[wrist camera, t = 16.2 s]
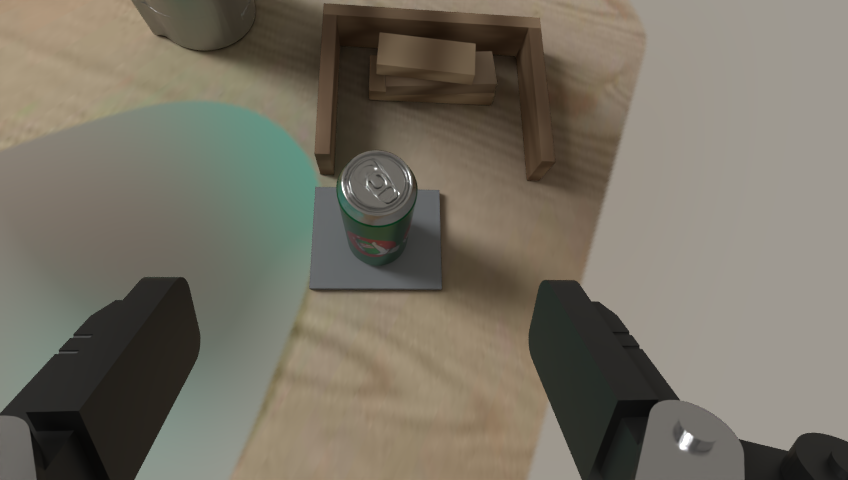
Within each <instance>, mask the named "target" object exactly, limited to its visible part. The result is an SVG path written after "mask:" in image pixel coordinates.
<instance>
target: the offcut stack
mask: <svg viewBox="0 0 848 480" xmlns="http://www.w3.org/2000/svg"><path fill="white" fill-rule="evenodd" d="M475 49H476V44H474V43H465V42H457V41H448V40H440V39H432V38H423V37H415V36H407V35H398V34H390V33H381V32H380V35H379V44H378V54H377V55H370V70H369V100H388V101H410V102H431V103H453V104H474V105H491V104H492V102H493V100H494V97H495V95H494V91H495V88H496V86H497V78H496V72H495V66H494V60H493V54H492V51H482V52H475Z"/></svg>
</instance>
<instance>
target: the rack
mask: <svg viewBox="0 0 848 480" xmlns="http://www.w3.org/2000/svg"><path fill="white" fill-rule="evenodd" d="M380 32H381V33H390V34H398V35H407V36H415V37H423V38H432V39H440V40H448V41H457V42H465V43H474V44H476V49H475V52H482V51H492V54H493V55H504V56H516V62H517V73H518V84H519V96H520V107H521V118H522V130H523V141H524V153H525V164H526V175H527V180H533V181H539V180H540V179H541V178H542V177H543V176H544V174H545V173H546V172H547V171H548V170H549V169H550V167H551V166H552V165H553V164H554V163H555V153H554V143H553V134H552V125H551V116H550V107H549V98H548V89H547V79H546V70H545V61H544V52H543V43H542V34H541V25H540V18H533V17H518V16H503V15H488V14H474V13H459V12H444V11H429V10H414V9H400V8H385V7H370V6H355V5H340V4H325V3H324V9H323V25H322V41H321V57H320V73H319V89H318V105H317V121H316V137H315V157H316V160H317V164H318V167H319V170H320V174H326V175H334V167H335V146H336V124H337V103H338V82H339V61H340V46H349V47H367V48H378V44H379V35H380Z"/></svg>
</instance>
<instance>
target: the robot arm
mask: <svg viewBox="0 0 848 480" xmlns="http://www.w3.org/2000/svg"><path fill="white" fill-rule="evenodd" d="M131 1H132V2H133V4H134V5H135V7H136V8H137V10H138V11H139V13H140V14H141V16H142V17H143V19H144V20H145V22H146V23H147V25H148V26H149V28H150V29H151V31H152V32H153V33H154V34H155V35H164V36H166V37H168V38H169V39H171V40H172V41H174V42H175V43H176V44H179V45H181V46H183V47H186V48H190V49H194V50H205V51H206V50H216V49H220V48H223V47H227V46H229V45H231V44H233V43H235V42H237V41H238V40H239V39H241V38H242V37H243V36H244V35H245V34H246V33H247V32H248V31H249V30H250V28H251V26H252V24H253V22H254V18H255V4H254V0H131ZM199 349H200V331H199V327H198V322H197V318H196V314H195V310H194V305H193V301H192V297H191V293H190V288H189V285H188V282H187V281H186V279H185V278H183V277H145V278H143V279H141V280H140V281H139V282H138V283H137V284H136V286H135V287H134V288H133V289H132V290H131V291H130V293H129V294H128V295H127V296H126V297H125V298H124V299H123V300H115V301H114V302H112V303H111V304H109V305H107V306H106V307H104V308H103V309H101V310H99V311H98V312H96V313H95V314H93V315H91V316H90V317H89V318H88V319H87V320H86V321H85V323H84V324H83V325H82V326H81V327H80V328H79V329H78V330H77V331H76V332H75V333H74V337H73V338H70V339H69V340H68V341H67V342H66V343H65V344H64V345H63V346H62V348H60V350H59V354H55V355H54V356H53V357H52V358H51V359H50V360H49V361H48V362H47V364H45V366H44V367H43V368H42V369H41V370H40V371H39V372H38V373H37V374H36V375H35V376H34V377H33V379H32V380H31V381H30V382H29V383H28V384H27V385H26V386H25V387H24V388H23V389H22V390H21V392H20V393H19V394H18V395H17V396H16V397H15V398H14V399H13V400H12V401H11V402H10V403H9V404H8V406H6V408H5V409H4V410H3V411H2V412H1V413H0V480H134V479H135V477H136V475H137V473H138V471H139V469H140V468H141V466H142V464H143V462H144V460H145V458H146V456H147V454H148V452H149V450H150V448H151V446H152V445H153V443H154V441H155V439H156V437H157V435H158V433H159V431H160V429H161V427H162V425H163V423H164V421H165V419H166V418H167V415H168V414H169V412H170V410H171V408H172V406H173V404H174V402H175V400H176V398H177V396H178V395H179V393H180V391H181V389H182V387H183V385H184V383H185V381H186V379H187V377H188V375H189V373H190V371H191V370H192V368H193V366H194V364H195V362H196V360H197V357H198V354H199ZM529 350H530V355H531V358H532V360H533V363H534V365H535V368H536V370H537V372H538V375H539V377H540V380H541V382H542V384H543V387H544V389H545V392H546V394H547V397H548V399H549V401H550V404H551V406H552V409H553V411H554V413H555V416H556V418H557V421H558V423H559V425H560V428H561V430H562V432H563V435H564V437H565V440H566V442H567V445H568V447H569V450H570V451H571V454H572V457H573V459H574V462H575V464H576V466H577V469H578V471H579V474H580V476H581V479H582V480H848V442H847V441H844V440H842V439H839V438H836V437H833V436H830V435H826V434H821V433H806V434H803V435H801V436H799V437H798V439H797V440H796V441H795V443H794V444H793V446H792V447H791V448H790V450H789V451H785V450H781V449H777V448H773V447H769V446H765V445H760V444H756V443H752V442H748V441H744V440H740V439H738V437H737V436H736V435H735V433H734V432H733V431H732V430H731V429H730V428H729V427H728V426H727V424H725V423H724V422H723V421H722V420H721V419H719V418H718V417H717V416H715V415H714V414H712V413H711V412H709V411H707V410H705V409H703V408H701V407H699V406H697V405H694V404H692V403H689V402H684V401H680V400H679V398H678V397H677V395H676V394H675V393H674V391H673V390H672V389H671V387H670V386H669V385H668V383H667V382H666V381H665V379H664V378H663V377H662V375H661V374H660V372H659V371H658V370H657V368H656V367H655V366H654V364H653V363H652V362H651V360H650V359H649V358H648V356H647V355H646V354H645V353H644V351H643V350H642V349H640V348H639V344H638V343H637V342H636V340H635V339H634V337H633V336H632V335H629V331H628V329H627V328H626V327H625V325H624V324H623V323H622V321H621V320H620V319H619V317H618V316H617V315H615V314H614V313H613V312H612V311H610V310H609V309H608V308H606V307H605V306H604V305H602V304H601V303H600V302H591V300H590V299H589V297H588V296H587V295H586V293H585V292H584V290H583V289H582V287H581V286H580V284H579V283H578V282H577V281H575V280H544V281H542V282H541V284H540V286H539V290H538V294H537V298H536V303H535V307H534V312H533V316H532V321H531V325H530V330H529Z"/></svg>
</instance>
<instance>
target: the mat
mask: <svg viewBox="0 0 848 480" xmlns="http://www.w3.org/2000/svg"><path fill="white" fill-rule="evenodd" d="M309 288H310V289H327V290H441V289H442V275H441V237H440V199H439V190H418V193H417V199H416V204H415V208H414V213H413V217H412V222H411V226H410V231H409V235H408V240H407V244H406V247H405V249H404V251H403V253H402V254H401V256H400V257H398V258H397V259H396V260H395V261H393V262H391V263H389V264H386V265H381V266H374V265H369V264H366V263H364V262H362V261H360V260H359V259H357V258H356V257H355V256H354V254H353V253H352V252H351V250H350V248H349V244H348V240H347V236H346V232H345V228H344V224H343V220H342V216H341V211H340V207H339V203H338V199H337V193H336V187H315V203H314V219H313V235H312V252H311V269H310V285H309Z"/></svg>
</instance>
